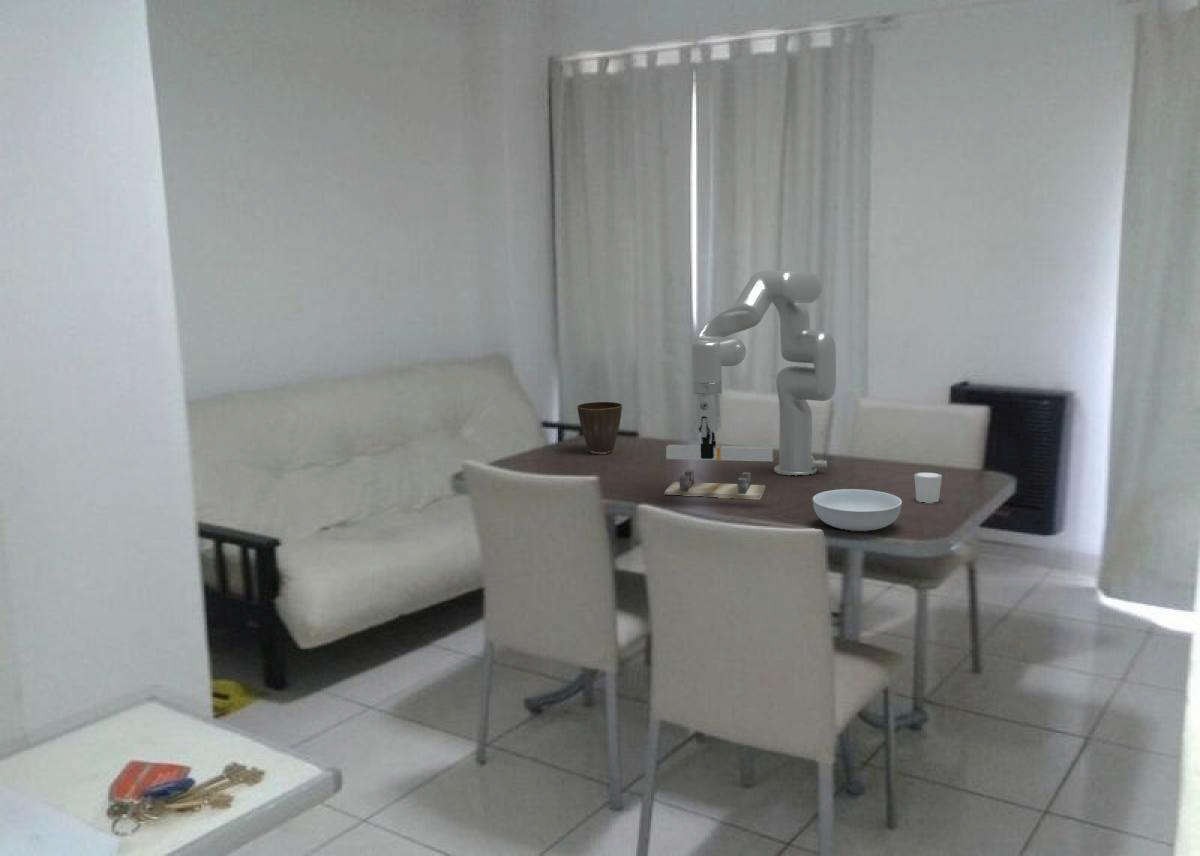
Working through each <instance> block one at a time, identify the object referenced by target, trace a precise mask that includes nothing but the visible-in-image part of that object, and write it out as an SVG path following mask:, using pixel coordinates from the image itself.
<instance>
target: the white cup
mask: <svg viewBox="0 0 1200 856" xmlns="http://www.w3.org/2000/svg"><path fill="white" fill-rule="evenodd" d="M942 479H943V476H942V474H940V473H937V472H926V471H924V472H923V471H922V472H916V473H914V485H915V486H914V487H915V500H917V501H916V502H918V501H919V502H918V503H921V502H925V503H924V504H934V503H933V502H937V503H939V500H940V495H941V494H940V493H941V487H942V486H941V485H942Z"/></svg>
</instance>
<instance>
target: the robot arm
mask: <svg viewBox="0 0 1200 856" xmlns="http://www.w3.org/2000/svg"><path fill="white" fill-rule="evenodd" d="M822 287H823V286H822V281H821V279H820V277H819V276H818V275H817V274H816V273H814V272H808V271H807V272H806V271H805V272H804V271H794V270H793V271H792V270H760V271H757V272H755V273H754V274H753V275H752V276H751V277H750V279H749V280H748V282H747V283H746V285H745V287H744V288H743V289H742V291H741V293H740V294H739V296H738V297H737V299H736V300H735V302H734V303H733V305H732V306H729V307H728V308H727V309H725V310H723V311H721V312H720V313H718V314H717V315H715V316H714V317H712V318H711V319H710V320H708V321H707V322H706V323H705V324H704V326H703V327H702V329H700V332H698V335H697V336H696V338H695V340H694V342H693V344H692V346H691V361H692V362H691V364H692V365H691V367H692V369H691V370H692V371H691V373H692V395H694V396H696V429H697V432H698V433H700V445H701V458H702V459H713V446H717V443H716V432H718V431H719V429H720V428H721V425H722V422H721V421H722V420H721V417H722V415H721V405H720V404H721V402H720V400H721V399H720V395H721V394H722V393H723V390H722V389H723V387H722V385H723V384H722V367H733V366H734V367H735V366H738V365H739V364H741V363H742V362H743V360H744V359H745V357H746V354H747V349H746V345H745V344H744V342H743V340H740V339H738V338H737V337H731V336H730V335H732V334H736V333H740V332H743V331H746V330H749V329H752V328H754V327H756V326H757V325H759V323H761V320H762V319H763V317H764V315H766V312H767V311H768V309H769V308H770V306H771V304H773V305H774V306H775V308H776V311H777V312H778V316H779V330H780V331H779V332H780V333H779V335H780V337H779V338H780V339H779V340H780V352H781V356H782V359H784V360H785V361H788V362H790V363H791V362H792V363H801V364H813V367H809V366H797V365H796V366H795V365H792V366H791V365H790V366H787V367H783V368H781V370H780V371H779V372H778V373H777V375H776V380H775V385H776V392H777V397H778V407H779V439H778V440H779V443H778V444H779V445H778V446H779V447H778V448H779V450H778V451H779V454H778V455H779V457H778V459H779V462H778V463H779V464H777V465H774V467H773V472H774V473H775V474H779V475H783V476H791V475H795V476H796V477H797V475H803V476H810V475H809V474H811V475H813V474H816V473H817V470H818V468H827V467H828V461H827V460H824V459H815V458H814V455H812V454H813V453H812V451H813V450H812V448H813V447H812V445H813V444H812V443H813V413H812V409H811V407H810V404H809V403H808V401H818V402H819V401H820V402H824V401H825V402H826V401H828V400H829V401H830V400H831V399H832V398H833V397H834V394H835V392H836V389H837V388H836V387H837V354H836V353H837V349H836V342H835V340H834V337H833V336H832V335H831V334H830V332H829V331H825V330H816V329H815V330H813V329H811V324H810V322H811V320H810V312H809V311H810V310H809V309H808V307H807V304H811V303H814V302H816V301H817V300H818V299H819V298H820V295H821V294H822ZM729 336H730V337H729ZM807 400H808V401H807Z"/></svg>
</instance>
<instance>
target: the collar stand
mask: <svg viewBox="0 0 1200 856" xmlns="http://www.w3.org/2000/svg"><path fill="white" fill-rule="evenodd" d="M694 477H695V472H694V469H686V470H685V471H684V475H681V476H680V477H679V481H673V482H672V483H671V484H670V485H669V486H668V487H667V488H666V490H665V491H664V495H665V494H676V495H690V496H704V497H703V498H707V497H718V498H717V499H730V498H734V499H735V500H737V499H738V500H756V501H757V500H759V501H760V500H761V498H762V497H763V495H764V493H765V491H766V484H751V471H743V472H742V473H741V477H738V479H737V483H720V482H717V483H715V482H714V483H713V482H694V481H695V479H694ZM734 499H733V500H734Z"/></svg>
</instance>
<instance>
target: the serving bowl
mask: <svg viewBox="0 0 1200 856" xmlns="http://www.w3.org/2000/svg"><path fill="white" fill-rule="evenodd" d="M812 504H813V510H814V512H815V514H816V515H817V517H818V518H819V519H820V520H821V521H822V522H824V523H825V524H826V525H829V526H831V527H832V528H833V527H834V528H837V529H840V530H843V529H845V530H844V531H847V530H851V531H850V532H855V531H864V532H869V530H871V531H875V530H880V529H883V528H886V527H888V526H890V525H892V524H893V523H894V522H895V521H896V520H897V519H898V517H899V515H900V513H901V510H902V505H903V501H902V499H901V498H900V497H898V496H897V495H895V494H891V493H889V492H883V491H880V490H879V491H878V490H870V489H860V488H859V489H858V488H849V489H848V488H842V489H832V490H827V491H825V490H824V491H821V492H819V493H816V494H815V495H813V497H812Z"/></svg>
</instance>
